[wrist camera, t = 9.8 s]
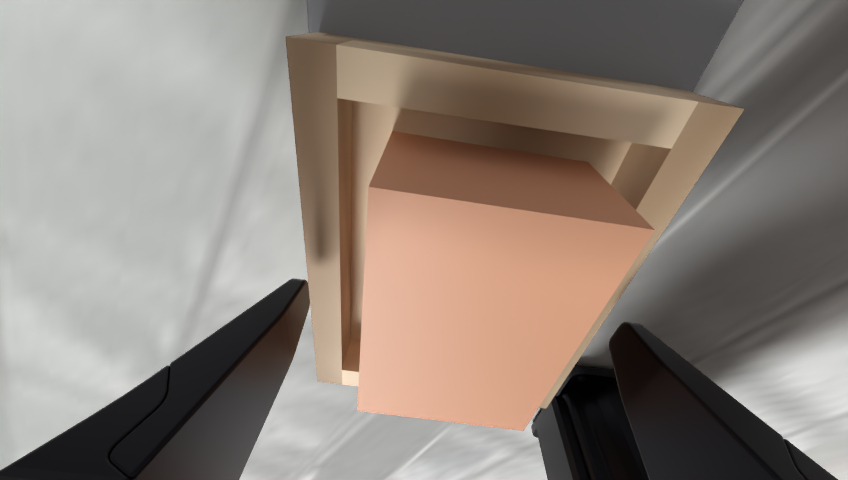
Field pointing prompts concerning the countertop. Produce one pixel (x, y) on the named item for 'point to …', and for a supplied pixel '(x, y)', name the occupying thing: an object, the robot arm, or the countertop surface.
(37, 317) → the countertop surface
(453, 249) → the card deck block
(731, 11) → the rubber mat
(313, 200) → the tray
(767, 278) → the countertop surface
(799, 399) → the countertop surface
